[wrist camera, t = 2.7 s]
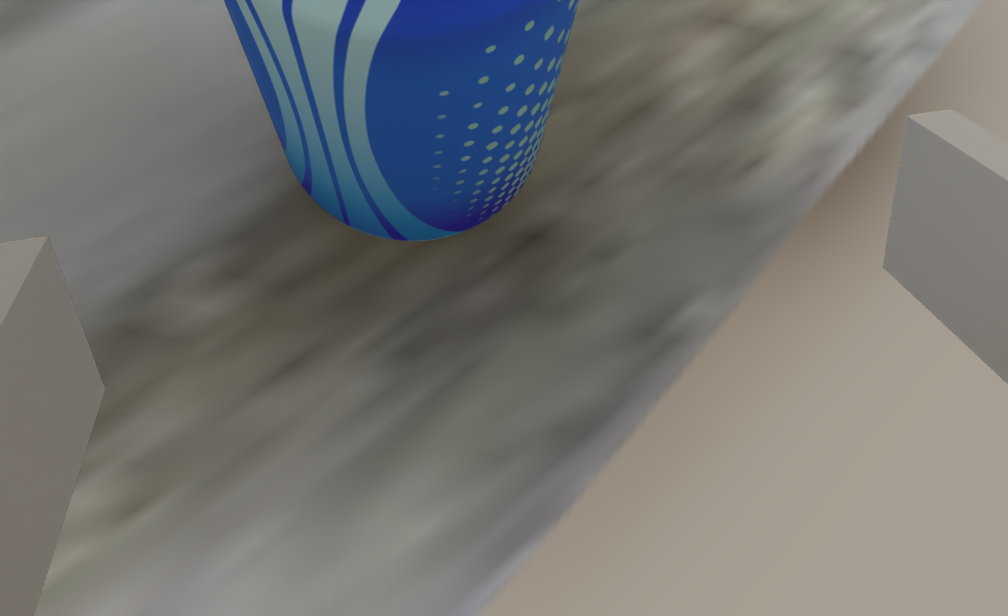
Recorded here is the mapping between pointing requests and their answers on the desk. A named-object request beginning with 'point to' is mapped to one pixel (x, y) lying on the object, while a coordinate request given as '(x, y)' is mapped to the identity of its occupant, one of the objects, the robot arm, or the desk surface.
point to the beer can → (407, 102)
